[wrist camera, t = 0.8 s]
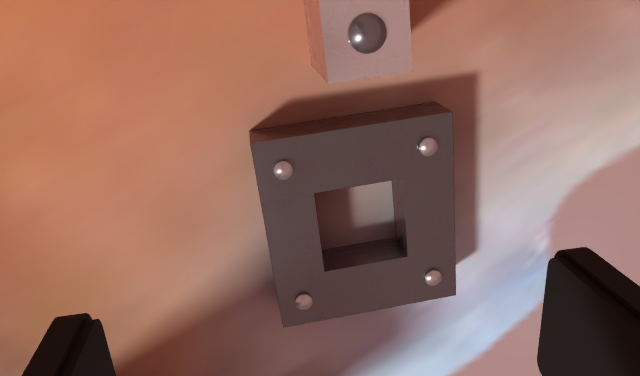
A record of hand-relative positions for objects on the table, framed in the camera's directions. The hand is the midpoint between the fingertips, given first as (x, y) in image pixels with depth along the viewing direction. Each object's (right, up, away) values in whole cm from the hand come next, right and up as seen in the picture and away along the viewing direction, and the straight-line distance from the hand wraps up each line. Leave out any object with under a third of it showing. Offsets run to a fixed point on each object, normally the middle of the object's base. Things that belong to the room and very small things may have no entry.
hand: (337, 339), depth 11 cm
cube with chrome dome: (+1, +14, +22) cm, 26 cm away
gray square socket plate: (+2, +2, +27) cm, 27 cm away
